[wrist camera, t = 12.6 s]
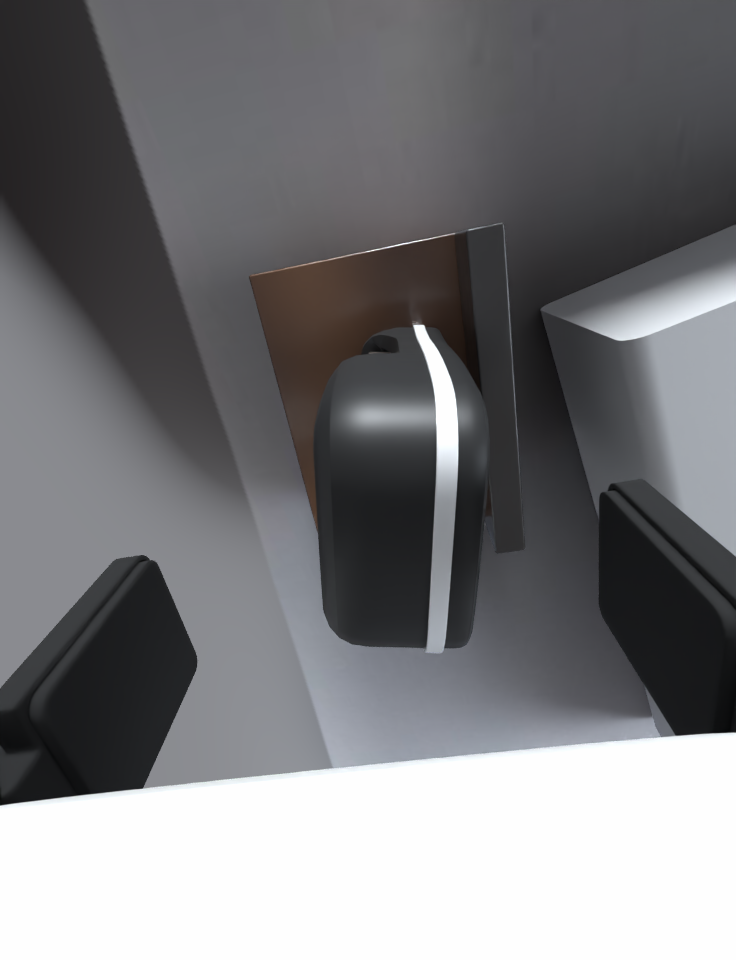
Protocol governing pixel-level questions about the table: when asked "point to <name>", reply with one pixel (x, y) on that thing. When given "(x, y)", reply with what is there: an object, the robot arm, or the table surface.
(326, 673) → the table surface
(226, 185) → the table surface
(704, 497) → the box
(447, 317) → the brown flanged block
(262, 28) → the table surface
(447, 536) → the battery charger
